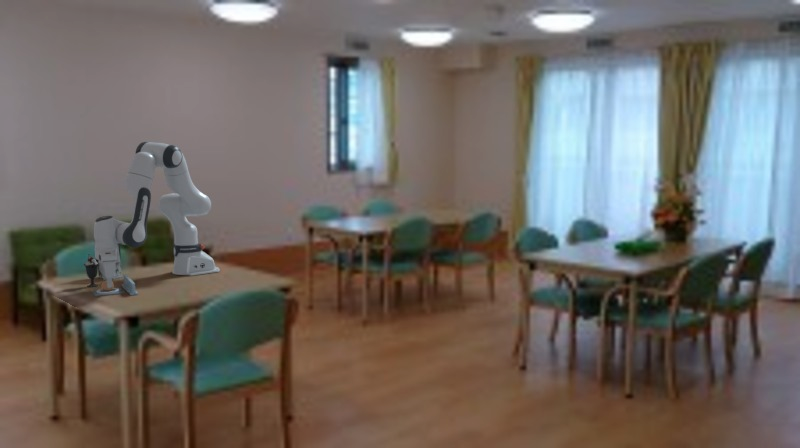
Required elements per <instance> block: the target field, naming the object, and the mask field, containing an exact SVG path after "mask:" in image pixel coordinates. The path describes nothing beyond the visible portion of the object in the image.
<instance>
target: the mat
mask: <svg viewBox="0 0 800 448" xmlns="http://www.w3.org/2000/svg"><path fill="white" fill-rule="evenodd" d="M90 291H91V293H92V294H93V296H94V297H104V296H105V297H106V296H114V295H115V294H116V295H124V293H125V292H126V291H124V290H123V289H122V288H121V287H114V288H113V289H112V290H111V291H109V292H106V291H104V290H103V289H102V288H99V289H92V290H90ZM125 294H126V293H125Z"/></svg>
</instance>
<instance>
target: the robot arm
mask: <svg viewBox="0 0 800 448" xmlns="http://www.w3.org/2000/svg"><path fill="white" fill-rule="evenodd" d="M135 149H136V150H135V155H134V156H133V157H132V160H131V162H130V164H129V167H128V170H127V173H126V176H125V181H124V187H125V190H126V191H127V192H128V194H129V195H130V196H131V198H132V199H133V201H134V207H133V212H132V218H131V221H130V222H126V221H123V220H119V219H117V218H115V217H114V216H112V215H104V216H100V217H98V218H96V219H95V221H94V226H93V239H94V258H95V259H97V260H99V270H100V272H101V273H102V275H103V278H102V280H103V282H104V281H106V280H107V287H108V288H111V287H112V282H113V279H112V278H115V271H116V261H115V260H117V244H120V245H125V246H128V247H131V248H134V249H135V248H139V247H141V246H143V245H144V244H145V242H146V240H147V238H148V229H147V228H148V227H147V226H148V218H149V213H150V207H151V200H152V193H151V192H152V191H151V190H152V184H153V179H154V177H155V173H156V171H155V170H156V168H162V169H163V173H164V178H165V181H166V184H167V187H168V188H169V190H171V191H173V192H175V193H173V192H172V193H167V194H163V195H161V196H160V198H159V200H158V203H157V204H158V209H159V211H160V213H161V214H163V216H165V217H166V218H167V219H168V221H169V222H170V224H171V227H172V229H173V237H174V239H173V240H174V245H173V256H174V262H173V269H172V274H173V275H178V276H179V275H180V276H189V277H190V276H192V277H193V276H198V275H205V274H206V275H207V274H213V273H219V272H221V271H220V268H219V267H218V266H216V264H215V261H214V258H213V257H211V256H210V255H209V254H207V253H206V252H205V251H203V250H204V249H205V248H206V246H205V245H204V244H201V243H199V238H198V235H199V234H198V228H197V226H196V225H195V224H193V223H191V222H190V221H189V220H188V219H187V217H201V216H205V215H208V214H209V212H210V211H211V209H212V201H211V199H210V197H209V196H208V195H207V194H204V193H203V192H201V191H200V190H199V189H198V188H197V187H196V186H195V184H194V183H193V180H192V178H191V175H190V172H189V167H188V164H187V161H186V160H187V159H186V158H185V155H184V154H183V152H182V150H181V149H180V148H179V147H178V146H176V145H174V144H167V143H164V142H154V141H153V142H152V141H142V142H140V143H139V144H138V145H137V147H136V148H135Z"/></svg>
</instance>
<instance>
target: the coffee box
mask: <svg viewBox="0 0 800 448" xmlns="http://www.w3.org/2000/svg"><path fill="white" fill-rule="evenodd" d="M97 260H98V259H97ZM115 261H116V271H115V278H112V280H116V279H119V278H120V279H121V278H122V277H123V275H122V274H123V273H122V257H121V244H120V243H118V244H117V260H115ZM98 263H99V260H98ZM97 274H98V278H99V279H103V275H102V273H101V272H100V270H99V265H98V270H97Z"/></svg>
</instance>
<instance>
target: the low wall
mask: <svg viewBox="0 0 800 448" xmlns="http://www.w3.org/2000/svg"><path fill="white" fill-rule="evenodd" d="M122 277H123V284H121V287H122V288H123V289H124V290H125V292H126V293H128V294H129V296H138V295H139V293H138V291H137V290H136V283H135V282H134V280H133V279H131V278H130V277H129V275H127V274H123V275H122Z"/></svg>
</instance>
